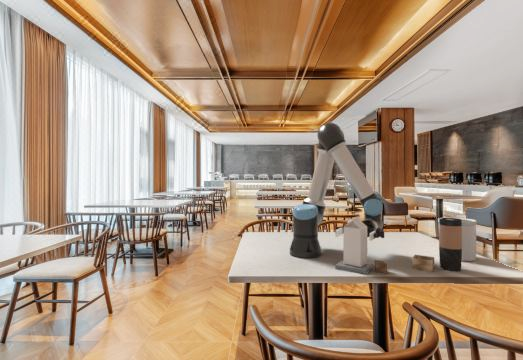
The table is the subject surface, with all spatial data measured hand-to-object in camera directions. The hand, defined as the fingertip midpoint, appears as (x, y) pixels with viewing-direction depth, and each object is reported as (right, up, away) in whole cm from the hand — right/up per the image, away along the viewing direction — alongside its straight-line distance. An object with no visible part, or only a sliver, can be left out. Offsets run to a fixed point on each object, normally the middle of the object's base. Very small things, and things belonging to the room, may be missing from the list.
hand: (352, 235), depth 115 cm
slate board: (+2, -14, +2) cm, 14 cm away
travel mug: (+39, -14, 0) cm, 42 cm away
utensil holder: (+53, -14, +17) cm, 58 cm away
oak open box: (+29, -14, +1) cm, 32 cm away
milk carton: (+2, -12, +2) cm, 13 cm away
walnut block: (+10, -14, -4) cm, 17 cm away
